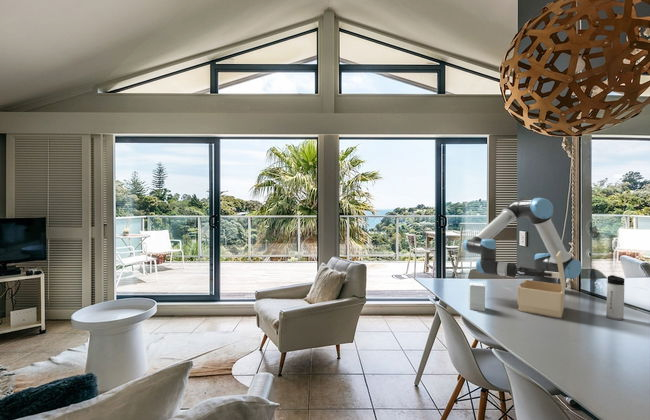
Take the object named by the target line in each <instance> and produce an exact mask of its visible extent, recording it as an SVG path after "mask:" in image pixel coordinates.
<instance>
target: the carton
mask: <svg viewBox="0 0 650 420" xmlns="http://www.w3.org/2000/svg"><path fill="white" fill-rule="evenodd" d="M516 304H517V305H518V312H523V313H529V314H534V315H540V316H544V317H551V318H557V319H563V314H564V311H565V310H564V309H565V291H564V293H562V289H561V283H557V284H554V283H546V282H538V281H532V280H529V279H523V281H522V282H521V283H519V285H518V286H517V303H516Z"/></svg>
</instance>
